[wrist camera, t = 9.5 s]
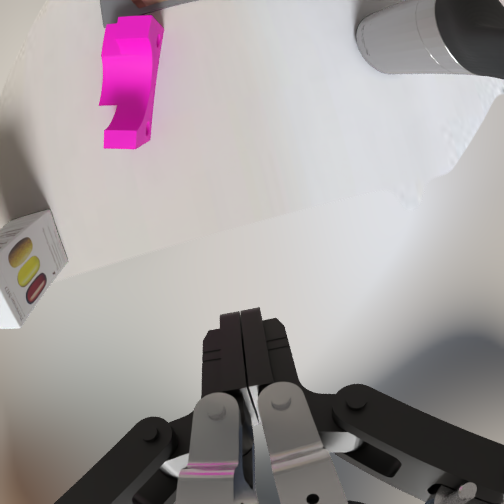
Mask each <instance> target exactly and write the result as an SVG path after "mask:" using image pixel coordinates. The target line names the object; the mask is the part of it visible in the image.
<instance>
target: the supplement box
mask: <svg viewBox="0 0 504 504" xmlns="http://www.w3.org/2000/svg"><path fill="white" fill-rule="evenodd" d="M67 263H68V259H67V257H66V254H65V251H64V249H63V246H62V243H61V240H60V238H59V235H58V232H57V229H56V226H55V223H54V220H53V217H52V214H51V210H50V209H48V210H44V211H40V212H37V213H33V214H30V215H27V216H23V217H20V218H17V219H14V220H11V221H10V222H8V223H7V224H6V225H5V226H3V227H2V228H1V229H0V329H15V328H21V326H22V325H23V323H24V322H25V320H26V319H27V317H28V316H29V314H30V313H31V312H32V310H33V309H34V307H35V306H36V304H37V303H38V301H39V300H40V299H41V297H42V296H43V294H44V293H45V292H46V290H47V289H48V287H49V286H50V285H51V284H52V282H53V281H54V279H55V278H56V277H57V276H58V274H59V273H60V272H61V270H62V269H63V268H64V267H65V265H66V264H67Z"/></svg>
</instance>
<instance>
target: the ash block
mask: <svg viewBox="0 0 504 504" xmlns="http://www.w3.org/2000/svg"><path fill="white" fill-rule="evenodd" d="M131 1H132V2H133V3H134V4H135V5H136V6H137V7H138V8H142V7H146V6H149V5H152V4H156V3H159V2H163V1H167V0H131Z"/></svg>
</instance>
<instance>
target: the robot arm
mask: <svg viewBox="0 0 504 504" xmlns="http://www.w3.org/2000/svg"><path fill="white" fill-rule="evenodd" d="M356 37H357V44H358V48H359V50H360V52H361V54H362V56H363V57H364V59H365V60H366V61H367V62H368V63H369V64H370V65H371V66H372V67H373V68H375V69H376V70H378V71H380V72H382V73H386V74H465V75H480V76H490V77H495V78H500V79H504V7H503V5H502V4H501V3H500V1H499V0H405V1H403V2H400V3H398V4H395V5H393V6H390V7H388V8H385V9H383V10H381V11H378V12H376V13H374V14H371V15H369V16H367V17H366V18H364V19H363V20H362V21H361V23H360V24H359V26H358V29H357V35H356ZM202 360H203V363H202V396H201V400H199V402H198V403H197V404H196V406H195V408H194V411H193V412H191V413H190V414H189V415H187V416H185V417H182V418H180V419H177V420H174V421H172V422H169V423H168V422H167V421H165V420H164V419H162V418H160V417H148V418H145V419H143V420H141V421H140V422H138V423H137V424H136V425H135V426H134V427H133V428H132V429H131V430H130V431H129V432H128V433H127V434H126V435H125V436H124V437H123V438H122V439H121V440H120V441H119V442H118V443H117V444H116V445H115V446H114V447H113V448H112V449H111V450H110V451H109V452H108V453H107V454H106V455H105V456H104V457H103V458H102V459H101V460H99V461H98V463H96V464H95V465H94V466H93V467H92V468H91V469H90V470H89V471H88V472H87V473H86V474H85V475H84V476H83V477H82V478H81V479H80V480H79V481H78V482H76V484H74V485H73V486H72V487H71V488H70V489H69V490H68V491H67V492H66V493H65V494H64V495H63V496H62V497H60V498H59V499H58V500H57V501H56V502H55V503H54V504H173V503H174V502H175V501H176V502H175V504H259V503H258V498H257V495H256V479H255V450H254V449H255V446H254V437H253V429H252V426H254V425H259V420H260V422H261V424H262V426H263V430H264V434H265V438H266V442H267V446H268V451H269V455H270V459H271V466H272V470H273V475H274V478H275V483H276V486H277V490H278V494H279V498H280V502H281V504H364V503H361V502H355V501H347V499H346V496H345V494H344V491H343V488H342V486H341V483H340V480H339V478H338V475H337V472H336V470H335V467H334V464H333V462H332V459H331V457H330V454H329V452H334V453H335V454H336V455H337V456H339V457H341V458H342V459H344V460H346V461H347V462H349V463H351V464H353V465H354V466H356V467H358V468H360V469H362V470H363V471H365V472H367V473H369V474H371V475H372V476H374V477H376V478H378V479H380V480H382V481H384V482H386V483H388V484H389V485H391V486H394V487H395V488H397V489H399V490H401V491H403V492H406V493H408V494H410V495H412V496H414V497H416V498H418V499H420V500H423V501H425V502H426V503H425V504H504V445H502V444H500V443H497V442H494V441H492V440H489V439H487V438H484V437H481V436H479V435H476V434H474V433H471V432H469V431H466V430H464V429H461V428H459V427H457V426H454V425H452V424H449V423H447V422H445V421H442V420H440V419H438V418H436V417H433V416H431V415H429V414H427V413H424V412H422V411H420V410H418V409H415V408H413V407H411V406H409V405H406V404H405V403H402V402H400V401H398V400H396V399H394V398H392V397H390V396H388V395H385V394H383V393H381V392H379V391H377V390H375V389H373V388H371V387H369V386H366V385H363V384H352V385H348V386H346V387H344V388H342V389H341V390H339V391H338V392H337V394H318V393H313V392H311V391H309V390H307V389H306V388H304V387H303V386H302V385H301V383H300V382H299V379H298V376H297V372H296V368H295V365H294V361H293V358H292V353H291V349H290V346H289V342H288V339H287V335H286V331H285V327H284V325H283V324H282V323H281V322H280V321H279V320H278V319H277V318H273V319H268V320H264V321H262V316H261V312H260V308H259V307H258V308H253V309H248V310H243V311H241V315H240V312H239V311H238V312H233V313H227V314H222V315H220V329H215V330H210V331H208V333H207V335H206V337H205V338H204V340H203V357H202ZM258 417H259V420H258Z"/></svg>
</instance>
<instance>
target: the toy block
mask: <svg viewBox="0 0 504 504" xmlns="http://www.w3.org/2000/svg"><path fill="white" fill-rule="evenodd" d="M163 32H164V29H163V27H162V26H161V25H160V24H159V23H158V22H157V20H156V19H155V18H154V17H153V16H152V15H144V16H125V17H118V22H117V23H115V24H106V30H105V35H104V41H103V47H102V54H101V57H102V63H103V84H102V92H101V98H100V102H99V106H102V105H117V109H116V112H115V115H114V117H113V120H112V122H111V123H110V125H109V126H108V128H107V129H105V130H104V148H111V149H137V148H138V147H140V146H141V145H143V144H145V143H146V142H148V141H150V137H151V124H152V114H153V104H154V95H155V86H156V78H157V71H158V64H159V57H160V50H161V44H162V38H163Z"/></svg>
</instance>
